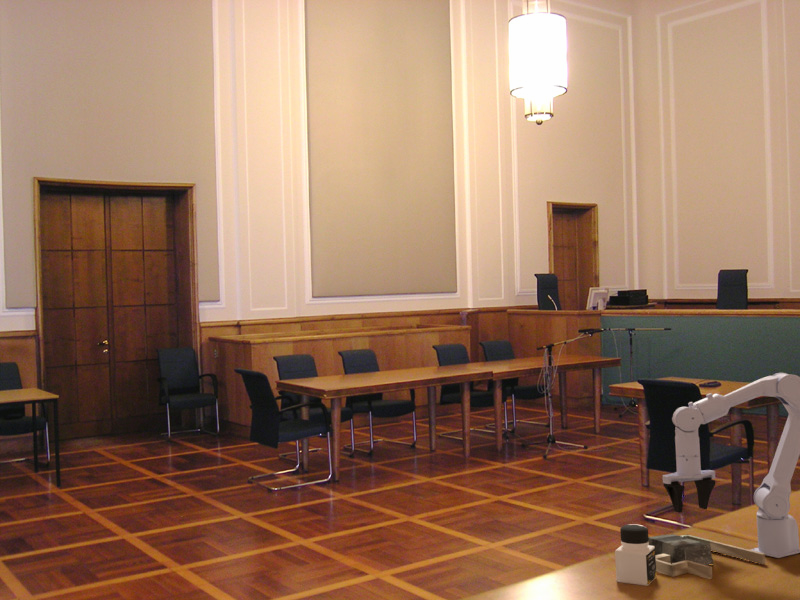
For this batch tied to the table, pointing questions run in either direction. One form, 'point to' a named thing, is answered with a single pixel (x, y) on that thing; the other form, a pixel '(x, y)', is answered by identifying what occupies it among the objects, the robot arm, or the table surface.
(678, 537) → the stone block
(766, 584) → the table surface
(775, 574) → the table surface
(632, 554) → the medicine bottle
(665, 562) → the trap lane
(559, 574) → the table surface
